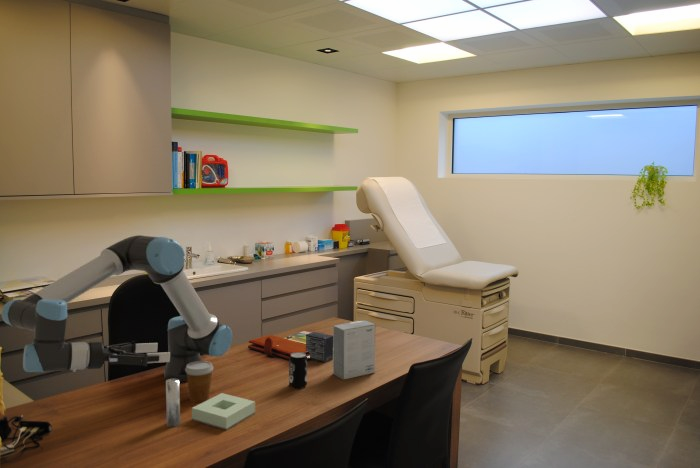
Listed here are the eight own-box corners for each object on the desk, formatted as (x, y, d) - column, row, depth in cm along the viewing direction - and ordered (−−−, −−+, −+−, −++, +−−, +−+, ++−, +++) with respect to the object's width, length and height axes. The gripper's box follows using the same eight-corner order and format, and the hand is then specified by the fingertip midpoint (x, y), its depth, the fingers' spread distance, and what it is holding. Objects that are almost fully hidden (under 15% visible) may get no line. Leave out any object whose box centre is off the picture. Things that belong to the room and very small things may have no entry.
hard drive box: (364, 367, 226) (365, 319, 224) (375, 373, 219) (376, 324, 217) (332, 374, 217) (333, 324, 215) (342, 380, 211) (343, 329, 209)
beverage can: (304, 390, 201) (304, 358, 200) (286, 388, 202) (286, 356, 201) (308, 383, 207) (309, 352, 206) (292, 381, 208) (292, 351, 207)
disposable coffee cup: (188, 405, 185) (188, 371, 184) (183, 395, 194) (182, 362, 192) (216, 401, 190) (216, 367, 188) (210, 391, 198) (209, 358, 197)
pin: (163, 425, 171) (163, 381, 169) (173, 420, 174) (172, 377, 173) (173, 428, 169) (172, 384, 167) (182, 423, 172) (182, 379, 171)
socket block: (192, 420, 175) (192, 407, 174) (221, 404, 187) (221, 392, 187) (226, 430, 168) (226, 417, 168) (255, 413, 180) (255, 401, 180)
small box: (333, 359, 236) (334, 335, 234) (325, 363, 230) (325, 338, 229) (314, 354, 241) (314, 331, 240) (305, 358, 236) (305, 334, 235)
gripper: (79, 359, 166) (151, 355, 178) (93, 380, 145) (174, 374, 157) (81, 334, 166) (153, 332, 178) (95, 351, 145) (176, 348, 157)
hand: (163, 352), depth 167 cm, fingers open, 13 cm apart
